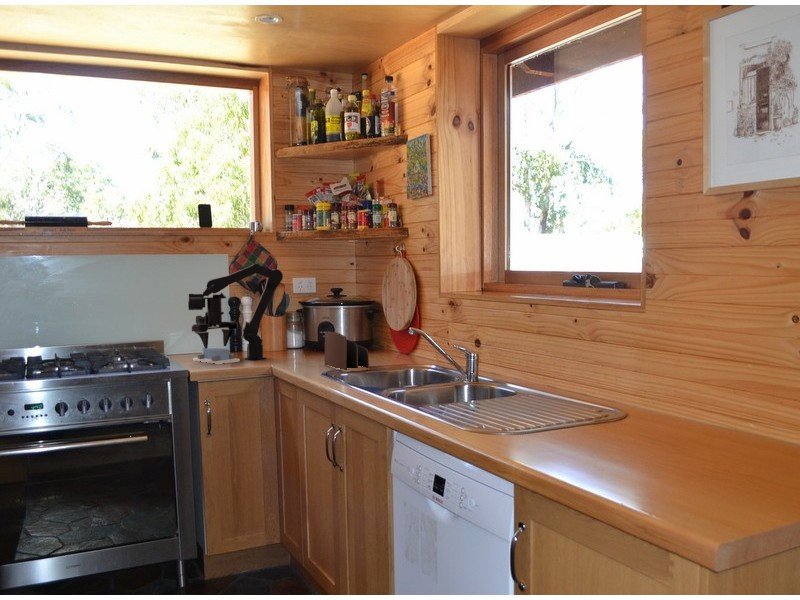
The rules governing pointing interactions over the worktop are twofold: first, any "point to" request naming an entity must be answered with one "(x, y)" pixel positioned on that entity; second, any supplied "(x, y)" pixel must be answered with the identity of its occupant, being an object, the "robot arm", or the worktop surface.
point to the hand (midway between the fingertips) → (215, 347)
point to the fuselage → (216, 353)
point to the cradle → (216, 359)
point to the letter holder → (344, 352)
